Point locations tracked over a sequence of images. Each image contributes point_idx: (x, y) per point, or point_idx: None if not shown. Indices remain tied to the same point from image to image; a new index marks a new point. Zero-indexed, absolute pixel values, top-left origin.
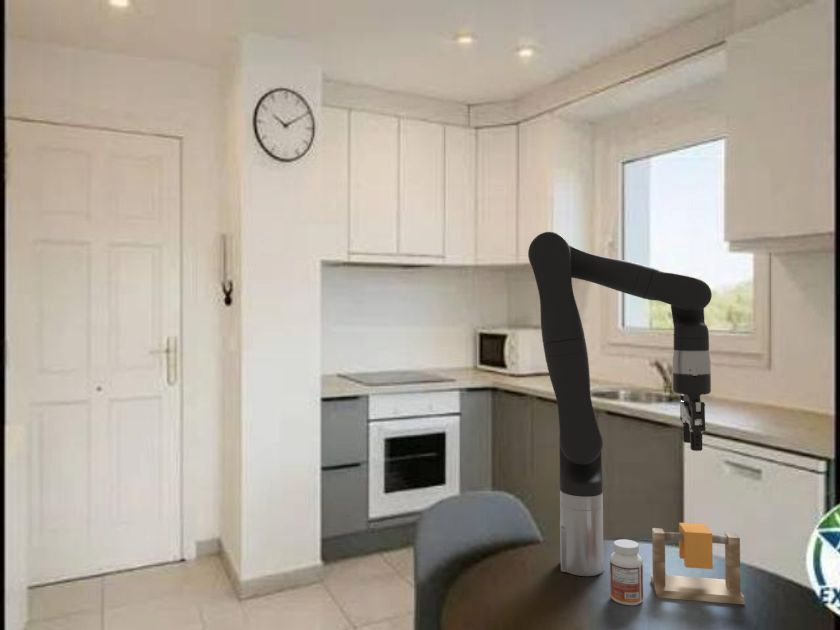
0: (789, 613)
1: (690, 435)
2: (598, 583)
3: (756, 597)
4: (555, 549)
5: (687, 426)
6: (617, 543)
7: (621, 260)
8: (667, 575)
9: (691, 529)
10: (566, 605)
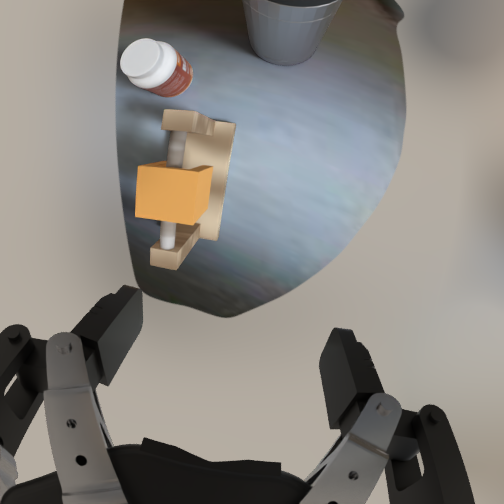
0: (151, 268)
1: (99, 327)
2: (226, 49)
3: (189, 253)
4: (362, 27)
5: (345, 405)
6: (139, 43)
7: None
8: (228, 147)
9: (153, 183)
10: (159, 13)
